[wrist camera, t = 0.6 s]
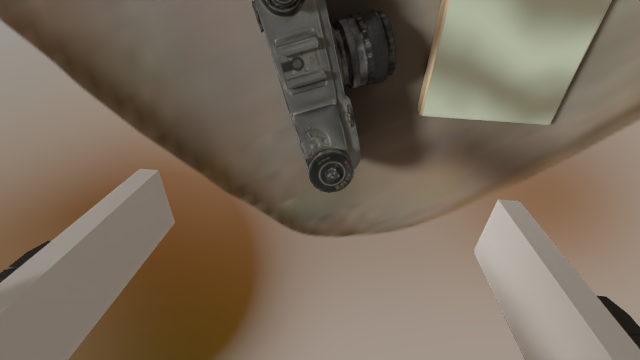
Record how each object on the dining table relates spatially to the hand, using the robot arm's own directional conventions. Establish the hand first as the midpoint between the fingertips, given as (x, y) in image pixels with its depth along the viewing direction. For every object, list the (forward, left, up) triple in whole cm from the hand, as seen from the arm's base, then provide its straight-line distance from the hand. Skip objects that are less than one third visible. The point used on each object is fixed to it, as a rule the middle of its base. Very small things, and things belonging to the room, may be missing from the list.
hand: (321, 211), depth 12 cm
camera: (-2, -1, -20) cm, 20 cm away
